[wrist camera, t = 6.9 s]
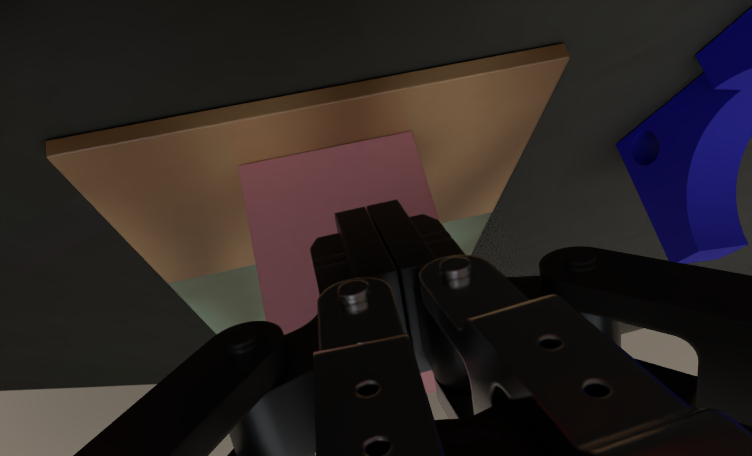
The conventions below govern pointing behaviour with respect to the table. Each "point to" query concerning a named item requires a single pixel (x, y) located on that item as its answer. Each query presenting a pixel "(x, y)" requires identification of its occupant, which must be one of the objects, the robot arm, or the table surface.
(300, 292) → the pink block
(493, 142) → the multicoloured piece
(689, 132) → the blue curved block
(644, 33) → the table surface
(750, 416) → the robot arm
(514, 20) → the table surface
